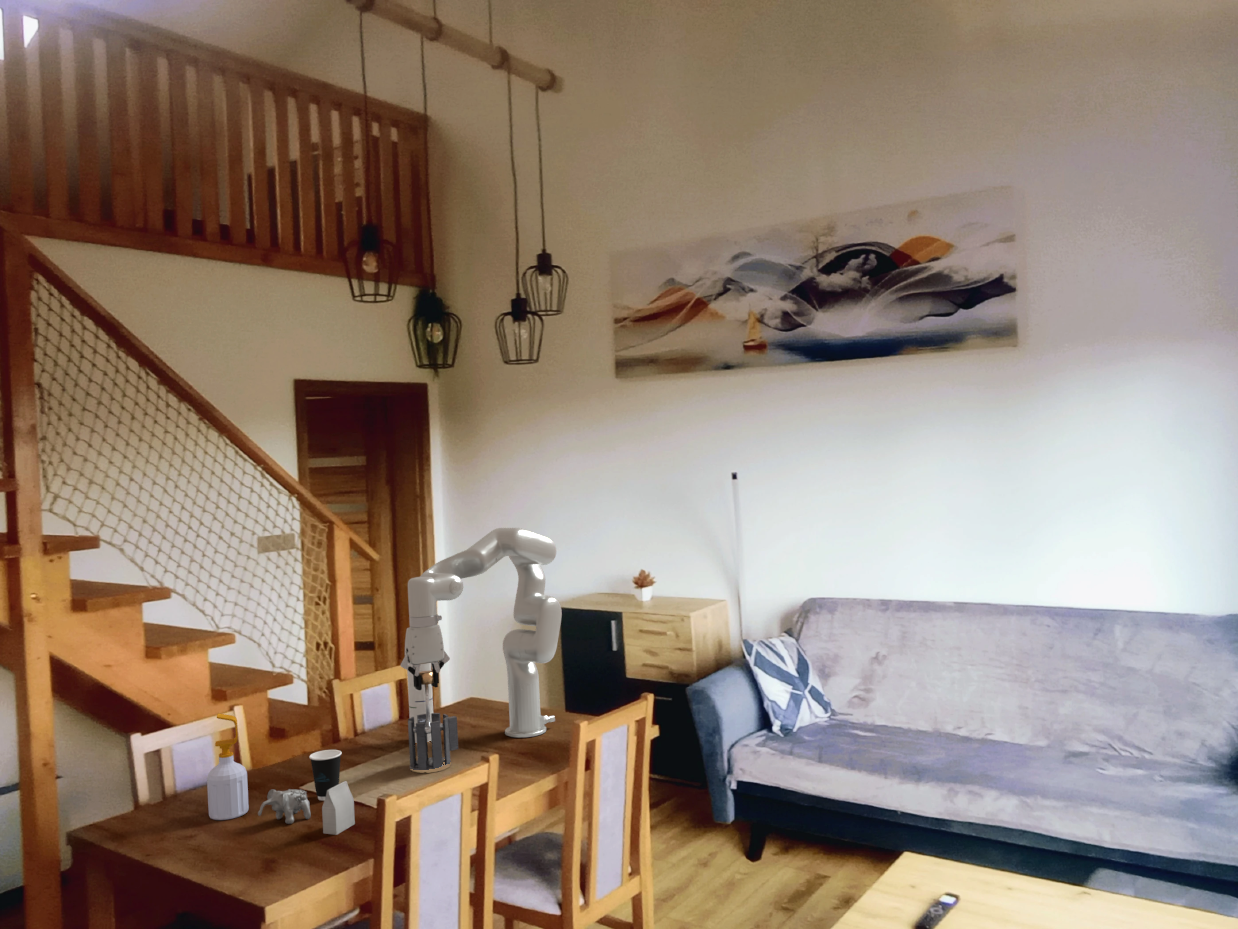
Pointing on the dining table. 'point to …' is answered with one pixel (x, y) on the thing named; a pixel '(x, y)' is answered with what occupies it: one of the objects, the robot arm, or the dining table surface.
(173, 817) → the dining table surface
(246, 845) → the dining table surface
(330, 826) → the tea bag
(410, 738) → the frame
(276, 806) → the gray elephant figurine
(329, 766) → the dixie cup
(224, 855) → the dining table surface
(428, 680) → the plunger
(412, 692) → the cylindrical container
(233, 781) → the soap bottle
